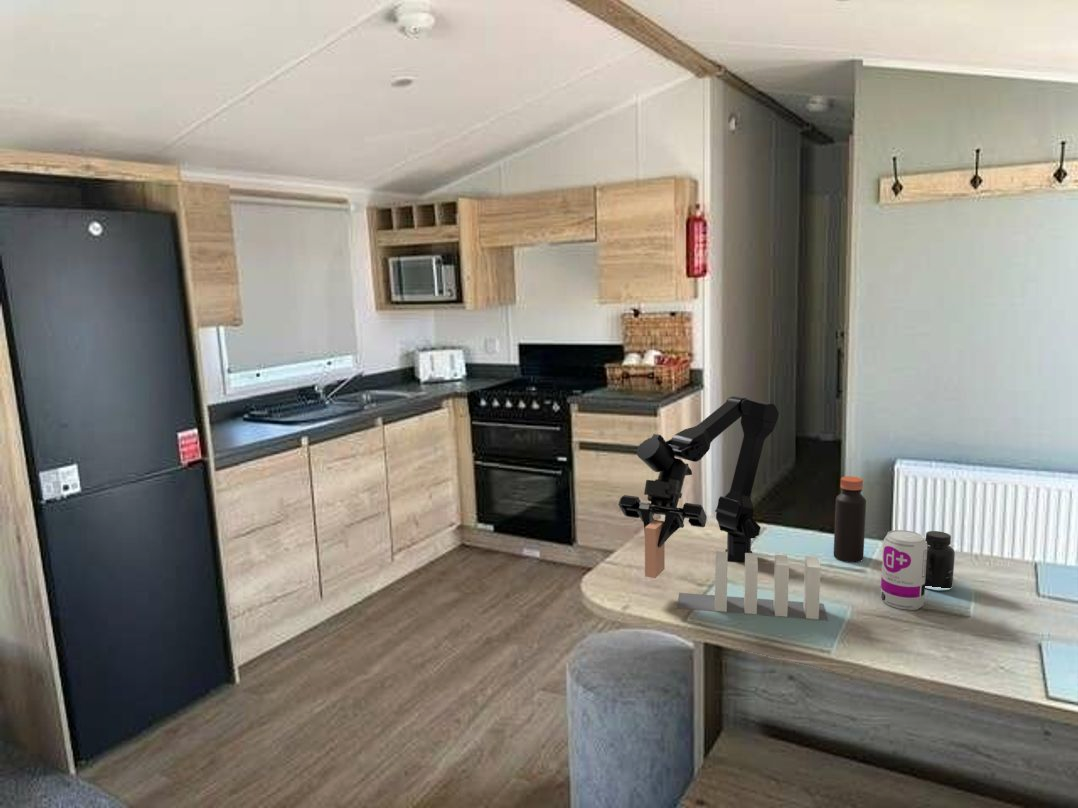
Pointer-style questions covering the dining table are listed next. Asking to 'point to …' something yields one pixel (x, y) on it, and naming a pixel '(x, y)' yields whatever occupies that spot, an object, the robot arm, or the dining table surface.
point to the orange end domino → (654, 550)
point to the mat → (737, 606)
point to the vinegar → (850, 521)
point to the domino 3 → (781, 585)
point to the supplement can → (903, 569)
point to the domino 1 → (721, 581)
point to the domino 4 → (811, 587)
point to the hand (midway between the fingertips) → (652, 545)
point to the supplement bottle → (939, 560)
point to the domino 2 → (750, 583)
